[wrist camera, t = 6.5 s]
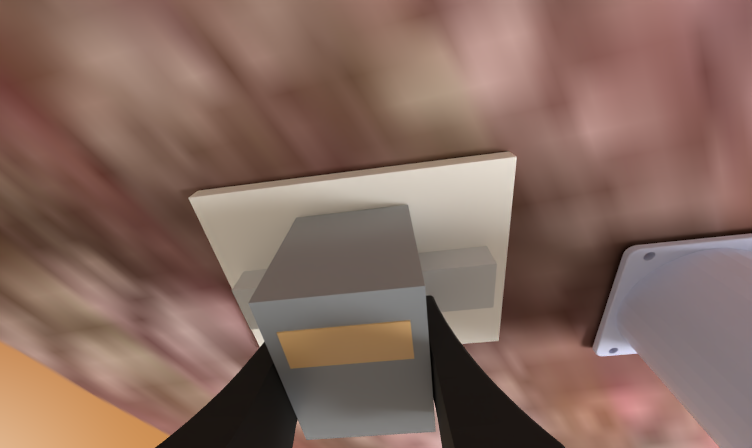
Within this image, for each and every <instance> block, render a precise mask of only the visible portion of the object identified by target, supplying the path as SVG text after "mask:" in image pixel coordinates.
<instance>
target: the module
mask: <svg viewBox="0 0 752 448" xmlns="http://www.w3.org/2000/svg"><path fill="white" fill-rule="evenodd" d="M248 304H249V306H250V309H251V311H252V313H253V316H254V318H255V320H256V323H257V325H258V327H259V330H260V332H261V334H262V337H263V339H264V341H265V344H266V346H267V348H268V351H269V353H270V355H271V358H272V360H273V362H274V365H275V367H276V369H277V372H278V374H279V376H280V379H281V381H282V383H283V386H284V388H285V390H286V393H287V395H288V397H289V400H290V402H291V405H292V407H293V409H294V412H295V414H296V416H297V419H298V421H299V423H300V426H301V428H302V430H303V433H304V435H305V437H306V440H312V439H328V438H344V437H360V436H375V435H391V434H407V433H423V432H436V430H435V417H434V403H433V389H432V375H431V361H430V347H429V333H428V319H427V305H426V291H425V283H424V278H423V274H422V269H421V264H420V259H419V255H418V250H417V245H416V240H415V236H414V231H413V226H412V221H411V217H410V212H409V207H408V205H400V206H392V207H383V208H375V209H366V210H357V211H349V212H340V213H332V214H323V215H315V216H306V217H297V218H296V219H295V221H294V222H293V224H292V226H291V228H290V230H289V231H288V233H287V235H286V237H285V238H284V240H283V242H282V244H281V246H280V247H279V249H278V251H277V253H276V254H275V256H274V258H273V260H272V262H271V263H270V265H269V267H268V269H267V270H266V272H265V274H264V276H263V278H262V279H261V281H260V283H259V285H258V287H257V288H256V290H255V292H254V294H253V295H252V297H251V299H250V301H249V303H248Z"/></svg>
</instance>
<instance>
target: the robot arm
mask: <svg viewBox="0 0 752 448" xmlns="http://www.w3.org/2000/svg"><path fill="white" fill-rule="evenodd" d="M426 305H427V319H428V333H429V347H430V361H431V375H432V389H433V399H434V403H435V407H436V412H437V417H438V423H439V429H440V435H441V442H442V448H565V447H564V446H563V445H562V444H561V443H560V442H559V441H557V440H556V439H555V438H554V437H553V436H551V435H550V434H549V433H548V432H546V431H545V430H544V429H543V428H542V427H541V426H539V425H538V424H537V423H536V422H535V421H534V420H532V419H531V418H530V417H529V416H528V415H527V414H526V413H525V412H524V411H522V410H521V409H520V408H519V407H518V406H517V405H516V404H515V403H514V402H513V401H512V400H511V399H510V398H509V397H508V396H507V395H506V394H505V393H504V392H503V391H502V390H501V389H500V388H499V387H498V386H497V385H496V384H495V383H494V382H493V381H492V380H491V379H490V378H489V377H488V376H487V374H486V373H485V372H484V371H483V370H482V369H481V368H480V366H479V365H478V364H477V363H476V362H475V361H474V359H473V358H472V357H471V356H470V354H469V353H468V352H467V350H466V349H465V348H464V346H463V345H462V344H461V342H460V341H459V340H458V338H457V337H456V335H455V334H454V332H453V331H452V329H451V328H450V326H449V325H448V323H447V322H446V320H445V318H444V317H443V315H442V313H441V311H440V309H439V308H438V306H437V303H436V301H435V299H434V297H433V296H432V295H428V296H426ZM593 350H594V352H595V353H596V354H597V355H598V356H612V355H624V354H637V353H638V355H639V356H640V357H641V358H642V359H643V360H644V361H645V363H646V364H647V365H648V366H649V367H650V368H651V369H652V371H653V372H654V373H655V374H656V375H657V376H658V377H659V379H660V380H661V381H662V382H663V383H664V384H665V385H666V387H667V388H668V389H669V390H670V391H671V392H672V393H673V395H674V396H675V397H676V398H677V399H678V400H679V401H680V403H681V404H682V405H683V406H684V407H685V408H686V409H687V411H688V412H689V413H690V414H691V415H692V416H693V418H694V419H695V420H696V421H697V422H698V423H699V424H700V426H701V427H702V428H703V429H704V430H705V431H706V432H707V434H708V435H709V436H710V437H711V438H712V439H713V440H714V442H715V443H716V444H717V445H718V446H719V447H720V448H752V233H750V234H741V235H731V236H721V237H711V238H701V239H692V240H682V241H672V242H662V243H653V244H643V245H635V246H631V247H629V248H628V249H626V250H625V252H624V253H623V256H622V259H621V262H620V265H619V268H618V271H617V274H616V277H615V280H614V283H613V286H612V289H611V292H610V295H609V299H608V302H607V305H606V308H605V311H604V314H603V317H602V320H601V323H600V326H599V329H598V332H597V335H596V338H595V341H594V344H593ZM296 424H297V416H296V414H295V412H294V409H293V407H292V405H291V402H290V400H289V397H288V395H287V393H286V390H285V388H284V386H283V383H282V381H281V379H280V376H279V374H278V372H277V369H276V367H275V365H274V362H273V360H272V358H271V355H270V353H269V351H268V348H267V346H266V344H265V341H264V343H263V344H262V345H261V346H260V348H259V349H258V350H257V352H256V353H255V354H254V355H253V356H252V358H251V359H250V360H249V361H248V362H247V363H246V365H245V366H244V367H243V368H242V369H241V370H240V371H239V373H238V374H237V375H236V376H235V377H234V378H233V379H232V380H231V381H230V382H229V383H228V384H227V385H226V386H225V387H224V388H223V389H222V391H221V392H220V393H218V394H217V395H216V396H215V397H214V398H213V399H212V400H211V401H210V402H209V403H208V404H207V405H206V406H205V407H203V408H202V409H201V410H200V411H199V412H198V413H197V414H196V415H195V416H194V417H192V418H191V419H190V420H189V421H188V422H187V423H185V424H184V425H183V426H182V427H181V428H179V429H178V430H177V431H176V432H175V433H173V434H172V435H171V436H170V437H168V438H167V439H166V440H165V441H163V442H162V443H161V444H159V445H158V446H157V447H155V448H292V447H293V441H294V434H295V428H296Z"/></svg>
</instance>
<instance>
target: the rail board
mask: <svg viewBox="0 0 752 448" xmlns="http://www.w3.org/2000/svg"><path fill="white" fill-rule="evenodd" d="M516 159H517V157H516V156H515V155H514V154H512V153H511V152H509V151H508V152H500V153H492V154H484V155H476V156H468V157H460V158H452V159H444V160H437V161H429V162H421V163H413V164H405V165H397V166H389V167H381V168H373V169H365V170H357V171H349V172H342V173H334V174H326V175H318V176H310V177H302V178H294V179H286V180H278V181H270V182H262V183H254V184H247V185H239V186H231V187H223V188H215V189H207V190H199V191H197V192H195V193H194V194H193V195H191V196H190V197H189V200H190V203H191V205H192V207H193V209H194V211H195V213H196V215H197V217H198V219H199V221H200V223H201V225H202V228H203V230H204V232H205V234H206V236H207V238H208V240H209V242H210V244H211V246H212V248H213V250H214V253H215V255H216V257H217V259H218V261H219V263H220V265H221V267H222V269H223V271H224V273H225V275H226V278H227V280H228V282H229V284H230V286H231V288H232V292H233V294H234V296H235V298H236V300H237V303H238V305H239V307H240V309H241V311H242V313H243V315H244V317H245V319H246V321H247V323H248V325H249V327H250V329H251V330H252V332H253V334H254V336H255V338H256V340H257V342H258V344H259V346H261V345H262V344H263V343H264V339H263V337H262V334H261V332H260V330H259V327H258V325H257V323H256V320H255V318H254V316H253V313H252V311H251V309H250V306H249V304H248V303H249V301H250V299H251V297H252V295H253V294H254V292H255V290H256V288H257V287H258V285H259V283H260V281H261V279H262V278H263V276H264V274H265V272H266V270H267V269H268V267H269V265H270V263H271V262H272V260H273V258H274V256H275V254H276V253H277V251H278V249H279V247H280V246H281V244H282V242H283V240H284V238H285V237H286V235H287V233H288V231H289V230H290V228H291V226H292V224H293V222H294V221H295V219H296V218H297V217H306V216H315V215H323V214H332V213H340V212H349V211H357V210H366V209H375V208H383V207H392V206H400V205H408V207H409V212H410V217H411V221H412V226H413V231H414V236H415V240H416V245H417V250H418V255H419V259H420V264H421V269H422V274H423V278H424V283H425V291H426V296H428V295H432V296H433V297H434V299H435V301H436V303H437V306H438V308H439V309H440V311H441V313H442V315H443V317H444V318H445V320H446V322H447V323H448V325H449V326H450V328H451V329H452V331H453V332H454V334H455V335H456V337H457V338H458V340H459V341H460V342H461V344H467V343H479V342H491V341H499V332H500V322H501V312H502V301H503V291H504V281H505V271H506V261H507V251H508V240H509V230H510V220H511V210H512V200H513V190H514V180H515V169H516Z"/></svg>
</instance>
